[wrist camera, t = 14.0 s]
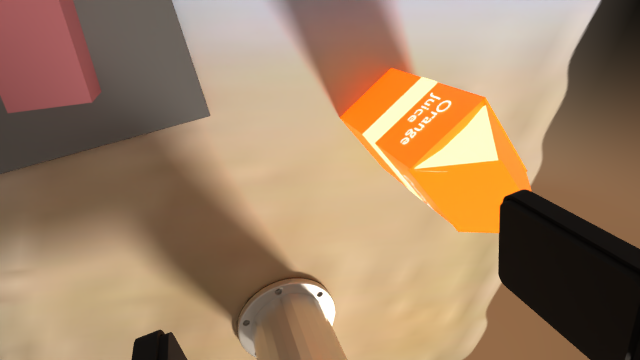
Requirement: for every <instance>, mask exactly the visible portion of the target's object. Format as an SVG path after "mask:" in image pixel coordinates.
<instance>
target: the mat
mask: <svg viewBox="0 0 640 360" xmlns="http://www.w3.org/2000/svg"><path fill="white" fill-rule="evenodd" d="M73 2H74V5H75V8H76V12H77V15H78V18H79V21H80V24H81V28H82V31H83V34H84V37H85V40H86V44H87V47H88V50H89V53H90V56H91V60H92V63H93V66H94V69H95V72H96V76H97V79H98V82H99V85H100V88H101V93H100V94H99V95H98V96H97V97H96V99H95V100H94V101H93V102H91V103H84V104H76V105H68V106H60V107H53V108H45V109H37V110H29V111H21V112H14V113H8V112H7V110H6V108H5V105H4V103H3V101H2V98H1V96H0V174H2V173H5V172H9V171H13V170H16V169H20V168H24V167H27V166H31V165H34V164H38V163H42V162H45V161H49V160H53V159H56V158H60V157H63V156H67V155H71V154H74V153H78V152H81V151H85V150H89V149H92V148H96V147H100V146H103V145H107V144H110V143H114V142H118V141H121V140H125V139H129V138H132V137H136V136H139V135H143V134H147V133H150V132H154V131H158V130H161V129H165V128H168V127H172V126H176V125H179V124H183V123H187V122H190V121H194V120H197V119H201V118H205V117H208V116H210V113H209V110H208V107H207V104H206V101H205V98H204V95H203V92H202V89H201V86H200V83H199V80H198V77H197V74H196V71H195V68H194V65H193V62H192V59H191V57H190V54H189V51H188V48H187V45H186V42H185V39H184V36H183V33H182V30H181V27H180V24H179V21H178V18H177V15H176V12H175V9H174V6H173V3H172V0H73Z"/></svg>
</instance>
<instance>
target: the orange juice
mask: <svg viewBox="0 0 640 360" xmlns="http://www.w3.org/2000/svg"><path fill="white" fill-rule="evenodd" d="M340 119H341V120H342V121H343V122H344V123H345V124H346V126H347V127H348V128H349V129H350V130H351V131H352V133H353V134H354V135H355V136H356V137H357V138H358V139H359V141H360V142H361V143H362V144H363V145H364V146H365V148H366V149H367V150H368V151H369V152H370V153H371V154H372V156H373V157H374V158H375V159H376V160H377V161H378V163H379V164H380V165H381V166H382V167H383V168H384V169H385V170H386V171H387V172H389V173H390V174H391V175H392V176H394V177H395V178H396V179H397V180H398V181H400V182H401V183H402V184H403V185H405V186H406V187H407V188H408V189H409V190H410V191H411V192H412V193H414V194H415V195H416V196H417V197H419V198H420V199H421V200H422V201H424V202H425V203H427V204H428V205H429V206H430V207H431V208H432V209H434V210H435V211H436V212H438V213H439V214H440V215H441V216H442V217H444V218H445V219H446V220H447V221H449V222H450V223H451V224H452V225H453V226H454V227H455V228H456V229H457V231H458V232H484V233H499V214H500V205H501V203H503V199H504V197H505V196H507V195H509V194H512V193H514V192H517V191H520V190H522V189H526V190H529V191H531V188H530V184H529V181H528V177H527V174H526V172H527V170H526V168H525V166H524V164H523V163H522V161H521V159H520V157H519V156H518V154H517V152H516V150H515V149H514V147H513V145H512V143H511V142H510V140H509V138H508V136H507V134H506V133H505V131H504V129H503V127H502V126H501V124H500V122H499V120H498V119H497V117H496V115H495V113H494V112H493V110H492V108H491V106H490V105H489V103H488V101H487V99H486V98H485V97H482V96H479V95H476V94H473V93H470V92H466V91H463V90H460V89H457V88H454V87H450V86H447V85H444V84H441V83H438V82H437V81H434V80H430V79H427V78H424V77H419V76H415V75H412V74H409V73H406V72H403V71H400V70H396V69H393V68H391V69H389V70H388V71H387V72H386V73H385V74H384V75H383V76H382V77H381V78H380V79H379V80H378V81H377V82H376V83H375V84H374V85H373V86H372V87H371V88H370V89H369V90H368V91H367V92H366V93H365V94H364V95H363V96H362V97H361V98H360V99H358V100H357V101H356V102H355V103H354V104H353V105H352V106H351V107H350V108H349V109H348V110H347V111H346V112H345V113H344V114H343V115H342V116H341V117H340ZM531 192H532V191H531Z"/></svg>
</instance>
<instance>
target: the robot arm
mask: <svg viewBox="0 0 640 360" xmlns="http://www.w3.org/2000/svg"><path fill="white" fill-rule="evenodd" d="M498 273H499V277H500V280H501V282H502V283H503V284H504V285H505V286H506V287H507V288H508V289H509V290H510V291H512V292H513V293H514V294H515V295H516V296H517V297H519V298H520V299H521V300H522V301H523V302H524V303H525V304H527V305H528V306H529V307H530V308H531V309H533V310H534V311H535V312H536V313H537V314H538V315H539V316H540V317H542V318H543V319H544V320H545V321H546V322H548V323H549V324H550V325H551V326H552V327H553V328H554V329H556V330H557V331H558V332H559V333H560V334H561V335H562V336H564V337H565V338H566V339H567V340H568V341H569V342H570V343H572V344H573V345H574V346H575V347H576V348H577V349H579V350H580V351H581V352H582V353H583V354H584V355H586V356H587V357H588V358H589V359H590V360H640V249H639V248H636V247H635V246H633V245H631V244H629V243H627V242H625V241H623V240H622V239H619V238H617V237H616V236H614V235H612V234H610V233H608V232H606V231H605V230H603V229H601V228H599V227H597V226H595V225H593V224H591V223H589V222H588V221H586V220H584V219H582V218H580V217H578V216H576V215H574V214H573V213H571V212H569V211H567V210H565V209H563V208H561V207H559V206H557V205H556V204H554V203H552V202H550V201H548V200H546V199H544V198H542V197H540V196H539V195H537V194H535V193H533V192H531V191H529V190H526V189H522V190H520V191H517V192H514V193H512V194H509V195H507V196H505V197H504V199H503V203H501V205H500V214H499V272H498ZM334 318H335V305H334V302H333V299H332V297H331V295H330V294H329V292H328V291H327V290H326V289H325V287H324V286H322V285H321V284H319V283H317V282H315V281H312V280H309V279H303V278H292V279H286V280H281V281H278V282H275V283H273V284H271V285H269V286H267V287H265V288H263V289H262V290H260V291H259V292H257V293H256V294H255V295H254V296H253V297H252V298H251V299H250V300H249V301H248V302H247V303H246V305H245V306H244V307H243V309H242V311H241V313H240V315H239V319H238V336H239V340H240V343H241V345H242V347H243V348H244V349H245V350H246V351H247V352H248V353H249V354H251V355H252V356H254V357H256V358H257V360H347V358H346V356H345V354H344V352H343V350H342V347H341V345H340V343H339V341H338V339H337V337H336V335H335V332H334V330H333V328H332V324H333V322H334ZM132 360H187V358H186V357H185V355H184V353H183V351H182V349H181V347H180V346H179V344H178V342H177V340H176V338H175V336H174V335H173V333H171V332H170V333H167V334H164V332H163V331H162V330H158V331H155V332H153V333H150V334H147V335H145V336H142V337H140V338H137V339H136V340H135V342H134V347H133V354H132Z"/></svg>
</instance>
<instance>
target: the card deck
mask: <svg viewBox="0 0 640 360" xmlns="http://www.w3.org/2000/svg"><path fill="white" fill-rule="evenodd" d="M100 93H101V88H100V85H99V82H98V79H97V76H96V72H95V69H94V66H93V63H92V60H91V56H90V53H89V50H88V47H87V44H86V40H85V37H84V34H83V31H82V28H81V24H80V21H79V18H78V15H77V12H76V8H75V5H74V2H73V0H0V96H1V98H2V101H3V103H4V105H5V108H6V110H7V112H8V113H14V112H21V111H29V110H37V109H45V108H53V107H60V106H68V105H76V104H84V103H91V102H93V101H94V100H95V99H96V97H97V96H98V95H99V94H100Z"/></svg>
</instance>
